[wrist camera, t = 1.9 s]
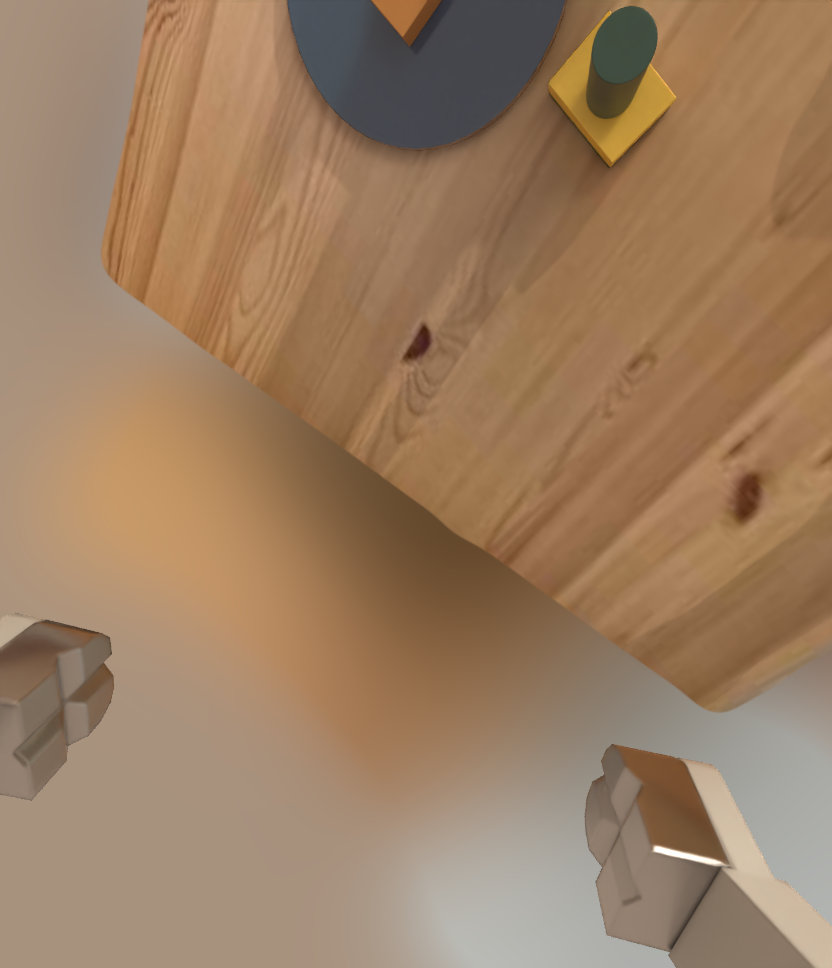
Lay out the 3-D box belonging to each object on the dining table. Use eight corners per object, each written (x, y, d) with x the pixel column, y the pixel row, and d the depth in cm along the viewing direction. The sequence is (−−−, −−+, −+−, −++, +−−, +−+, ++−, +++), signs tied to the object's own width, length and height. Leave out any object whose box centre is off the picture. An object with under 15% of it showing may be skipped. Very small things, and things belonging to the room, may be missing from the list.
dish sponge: (548, 93, 38) (541, 37, 27) (606, 26, 35) (622, -63, 25) (609, 168, 39) (625, 142, 28) (669, 108, 36) (710, 54, 26)
